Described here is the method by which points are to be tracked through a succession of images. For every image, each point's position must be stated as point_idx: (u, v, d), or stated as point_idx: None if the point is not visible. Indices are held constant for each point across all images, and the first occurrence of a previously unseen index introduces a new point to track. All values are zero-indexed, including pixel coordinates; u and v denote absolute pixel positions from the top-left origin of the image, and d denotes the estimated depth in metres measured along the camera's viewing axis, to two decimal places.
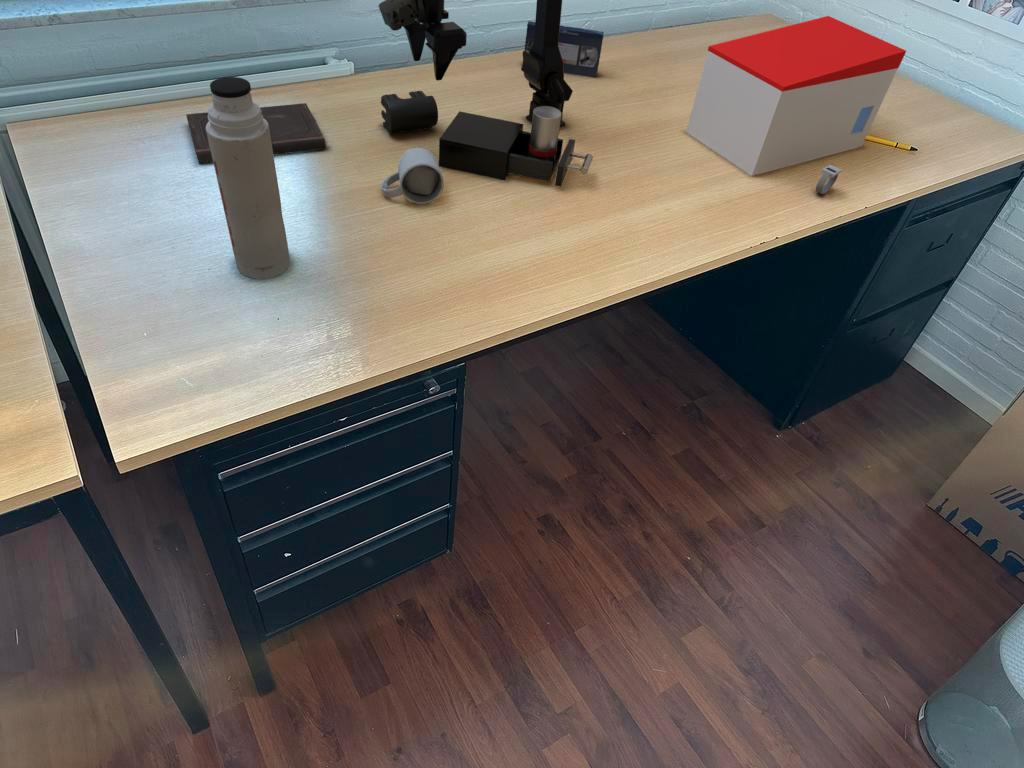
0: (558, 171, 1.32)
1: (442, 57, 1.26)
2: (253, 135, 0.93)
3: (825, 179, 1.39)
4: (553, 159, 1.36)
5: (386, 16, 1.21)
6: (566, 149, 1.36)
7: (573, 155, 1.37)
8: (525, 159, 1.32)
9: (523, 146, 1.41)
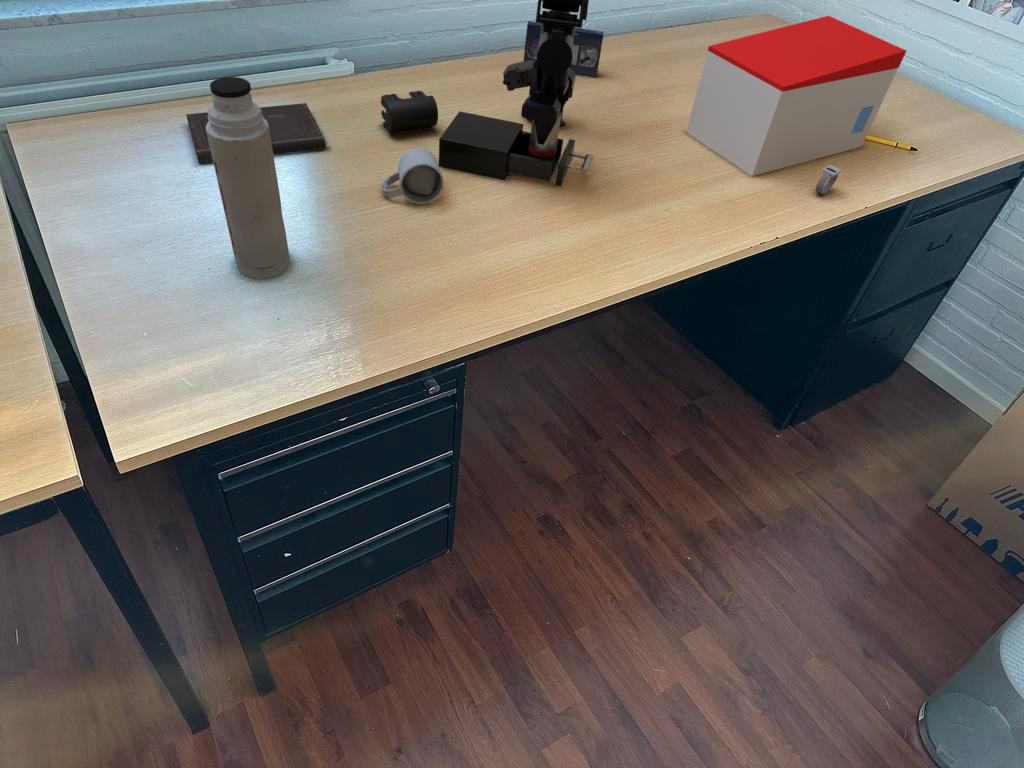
0: (558, 171, 1.32)
1: (542, 124, 1.28)
2: (253, 135, 0.93)
3: (825, 179, 1.39)
4: (553, 159, 1.36)
5: None
6: (566, 149, 1.36)
7: (573, 155, 1.37)
8: (525, 159, 1.32)
9: (523, 146, 1.41)
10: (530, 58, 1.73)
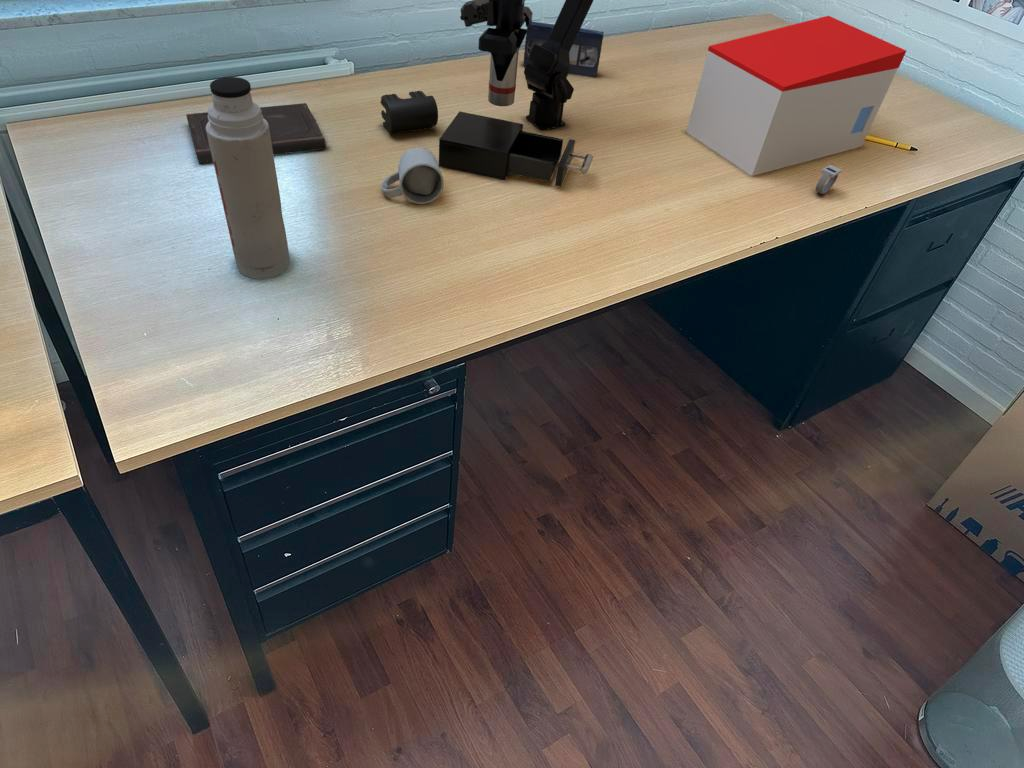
0: (558, 171, 1.32)
1: (500, 59, 1.32)
2: (253, 135, 0.93)
3: (825, 179, 1.39)
4: (512, 96, 1.40)
5: None
6: (566, 149, 1.36)
7: (573, 155, 1.37)
8: (525, 159, 1.32)
9: (523, 146, 1.41)
10: None
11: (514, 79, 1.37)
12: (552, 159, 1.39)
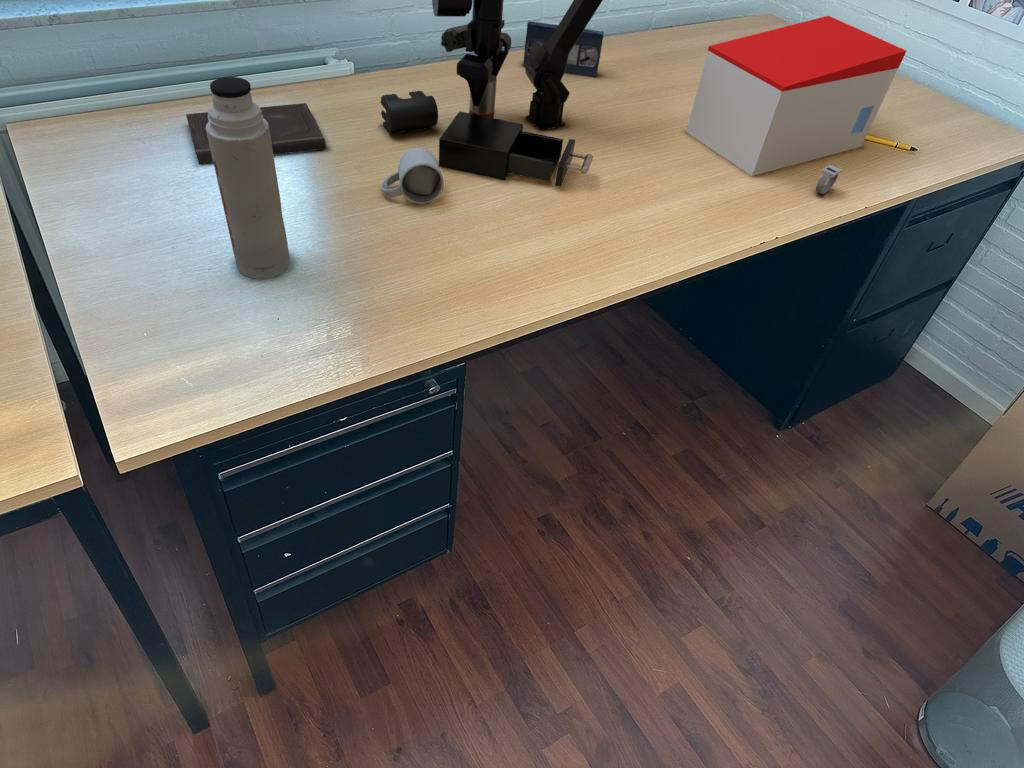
0: (558, 171, 1.32)
1: (476, 86, 1.39)
2: (253, 135, 0.93)
3: (825, 179, 1.39)
4: None
5: None
6: (566, 149, 1.36)
7: (573, 155, 1.37)
8: (525, 159, 1.32)
9: (523, 146, 1.41)
10: None
11: (492, 106, 1.46)
12: (552, 159, 1.39)
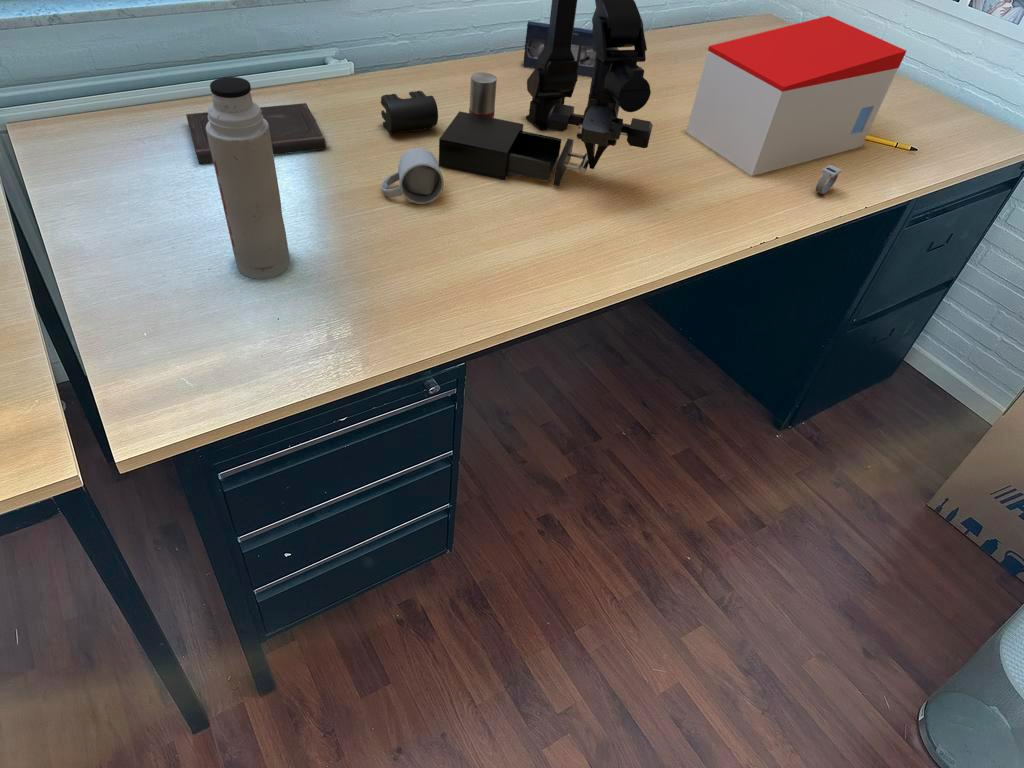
0: (556, 171, 1.32)
1: None
2: (253, 135, 0.93)
3: (825, 179, 1.39)
4: None
5: (600, 136, 1.23)
6: (564, 149, 1.36)
7: (571, 155, 1.37)
8: (523, 159, 1.32)
9: (521, 146, 1.41)
10: (530, 58, 1.73)
11: (492, 106, 1.46)
12: (550, 159, 1.39)
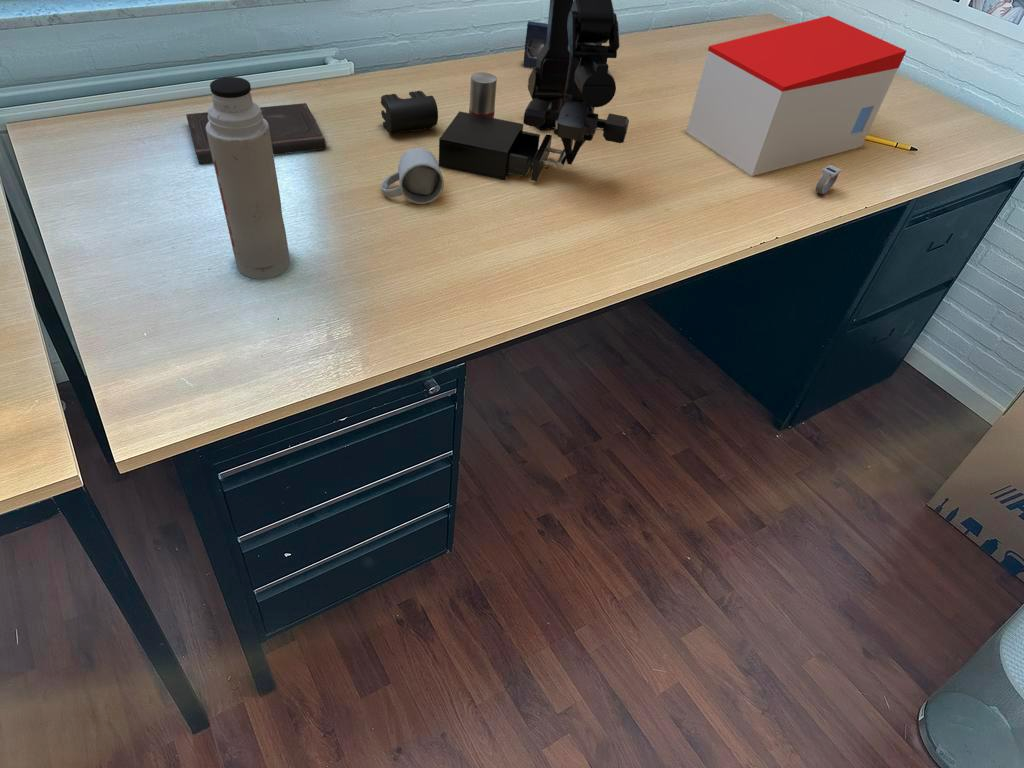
0: (533, 166, 1.32)
1: None
2: (253, 135, 0.93)
3: (825, 179, 1.39)
4: None
5: (575, 131, 1.23)
6: (542, 144, 1.36)
7: (549, 150, 1.38)
8: None
9: None
10: (530, 58, 1.73)
11: (492, 106, 1.46)
12: (529, 154, 1.39)
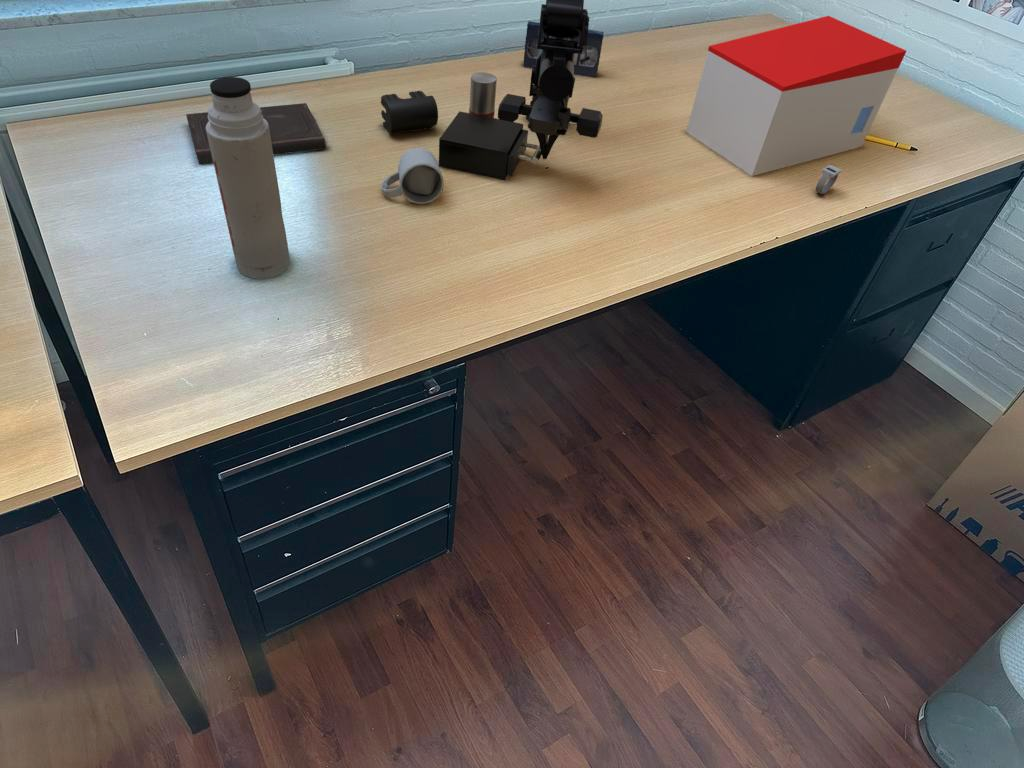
0: (508, 161, 1.33)
1: None
2: (253, 135, 0.93)
3: (825, 179, 1.39)
4: None
5: (547, 125, 1.24)
6: (518, 139, 1.37)
7: (525, 145, 1.38)
8: None
9: None
10: (530, 58, 1.73)
11: (492, 106, 1.46)
12: None
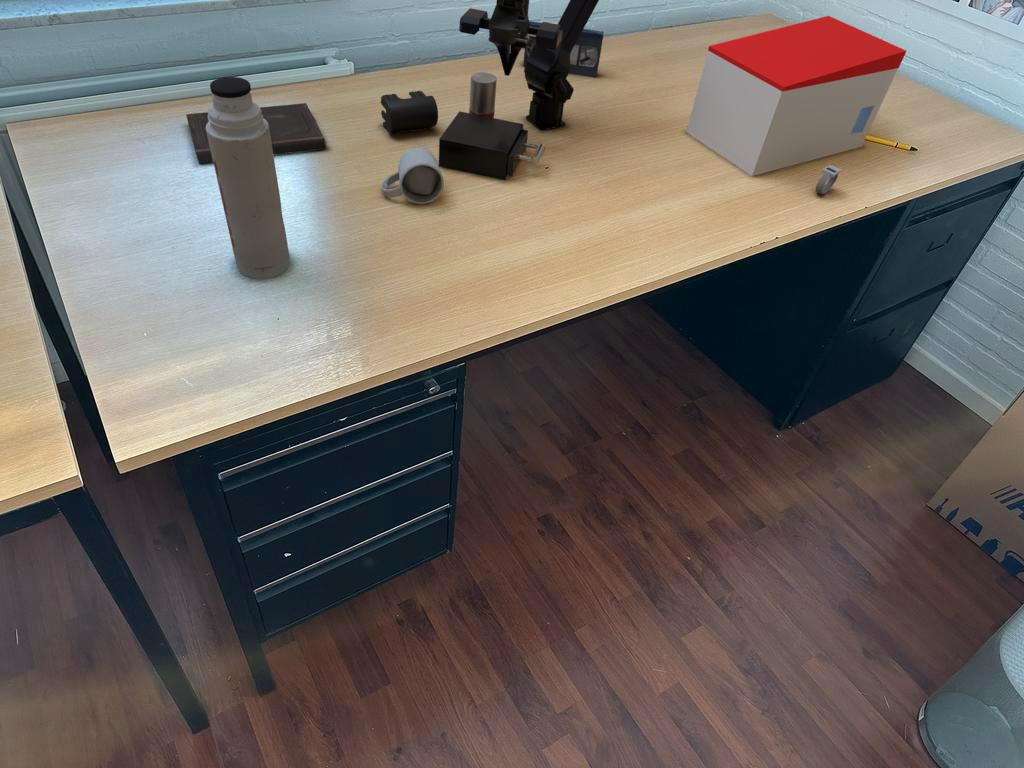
0: (508, 161, 1.33)
1: None
2: (253, 135, 0.93)
3: (825, 179, 1.39)
4: None
5: (506, 33, 1.26)
6: (518, 139, 1.37)
7: (525, 145, 1.38)
8: None
9: None
10: None
11: (492, 106, 1.46)
12: None
